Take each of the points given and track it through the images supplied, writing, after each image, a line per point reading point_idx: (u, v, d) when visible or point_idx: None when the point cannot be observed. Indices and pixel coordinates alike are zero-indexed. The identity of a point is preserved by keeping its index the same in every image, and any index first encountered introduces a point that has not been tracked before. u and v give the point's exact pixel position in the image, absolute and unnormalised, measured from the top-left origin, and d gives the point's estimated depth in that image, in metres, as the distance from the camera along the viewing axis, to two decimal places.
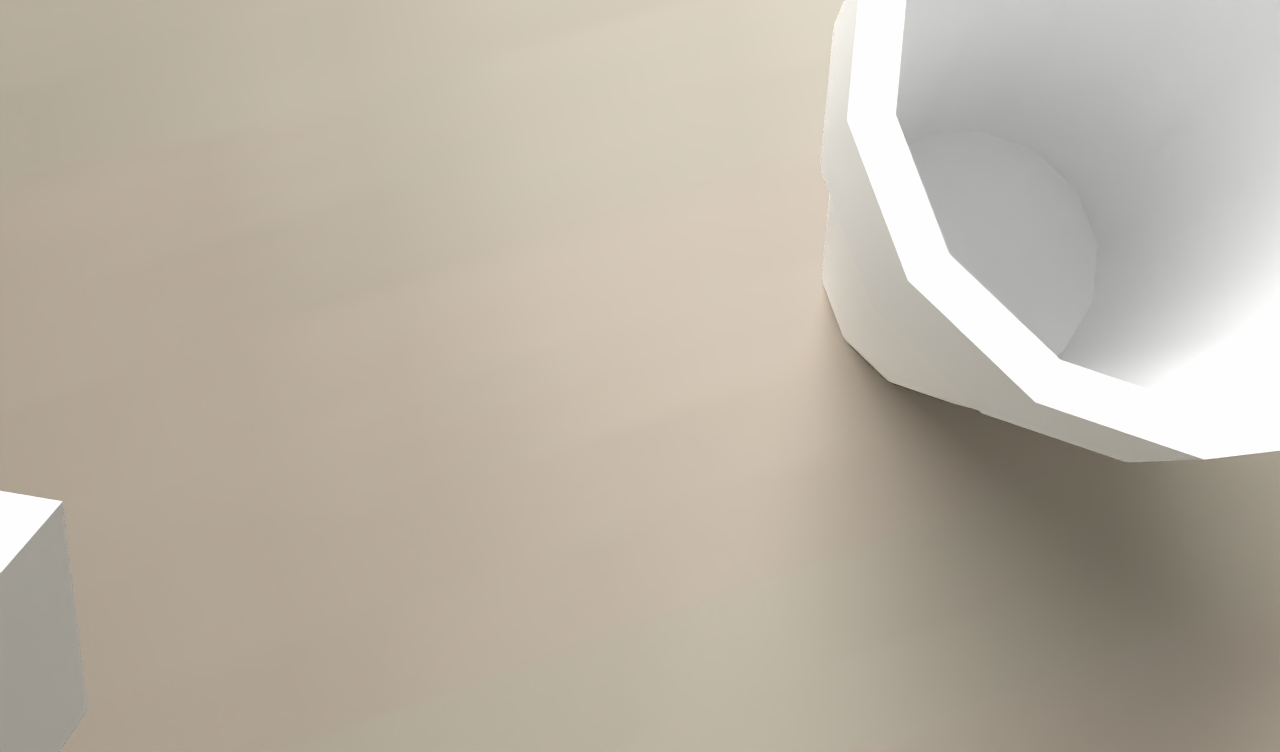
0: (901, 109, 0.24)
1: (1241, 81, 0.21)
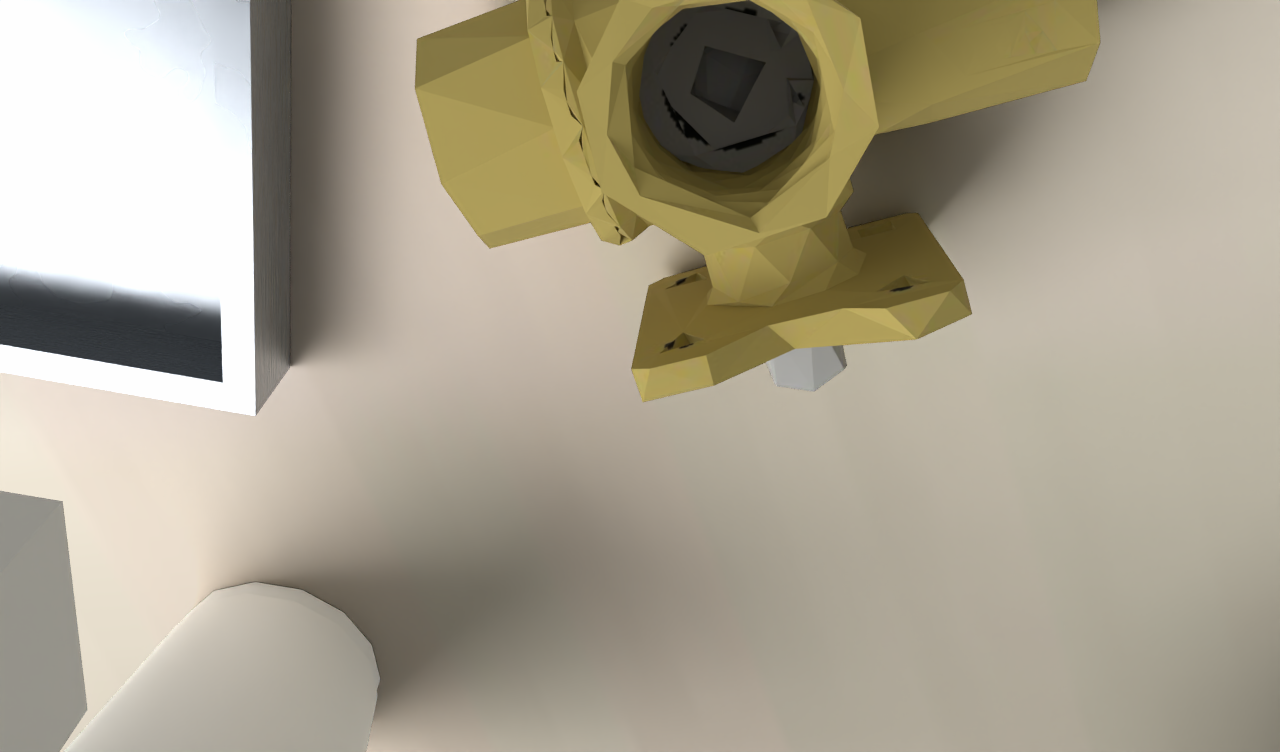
0: None
1: None
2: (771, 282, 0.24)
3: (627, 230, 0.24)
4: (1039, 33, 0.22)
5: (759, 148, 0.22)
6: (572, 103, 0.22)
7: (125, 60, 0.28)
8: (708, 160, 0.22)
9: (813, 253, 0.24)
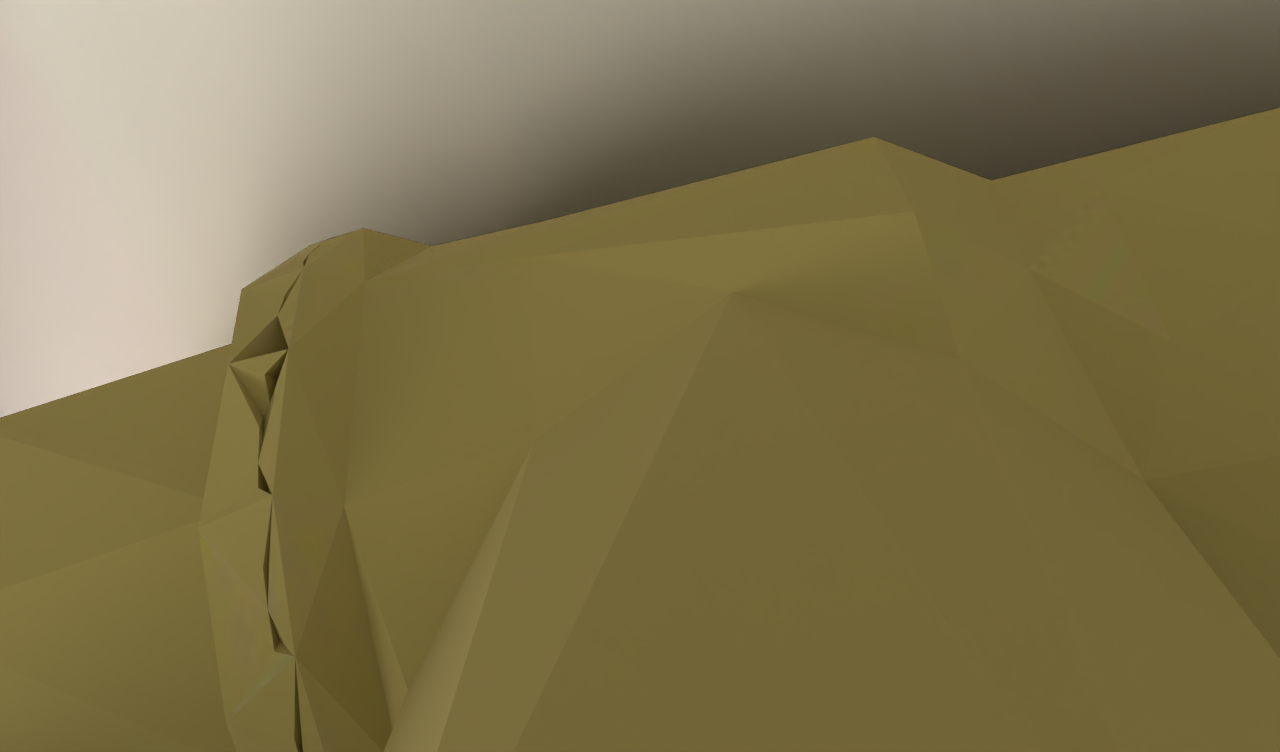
0: None
1: None
2: None
3: None
4: None
5: None
6: None
7: None
8: None
9: None
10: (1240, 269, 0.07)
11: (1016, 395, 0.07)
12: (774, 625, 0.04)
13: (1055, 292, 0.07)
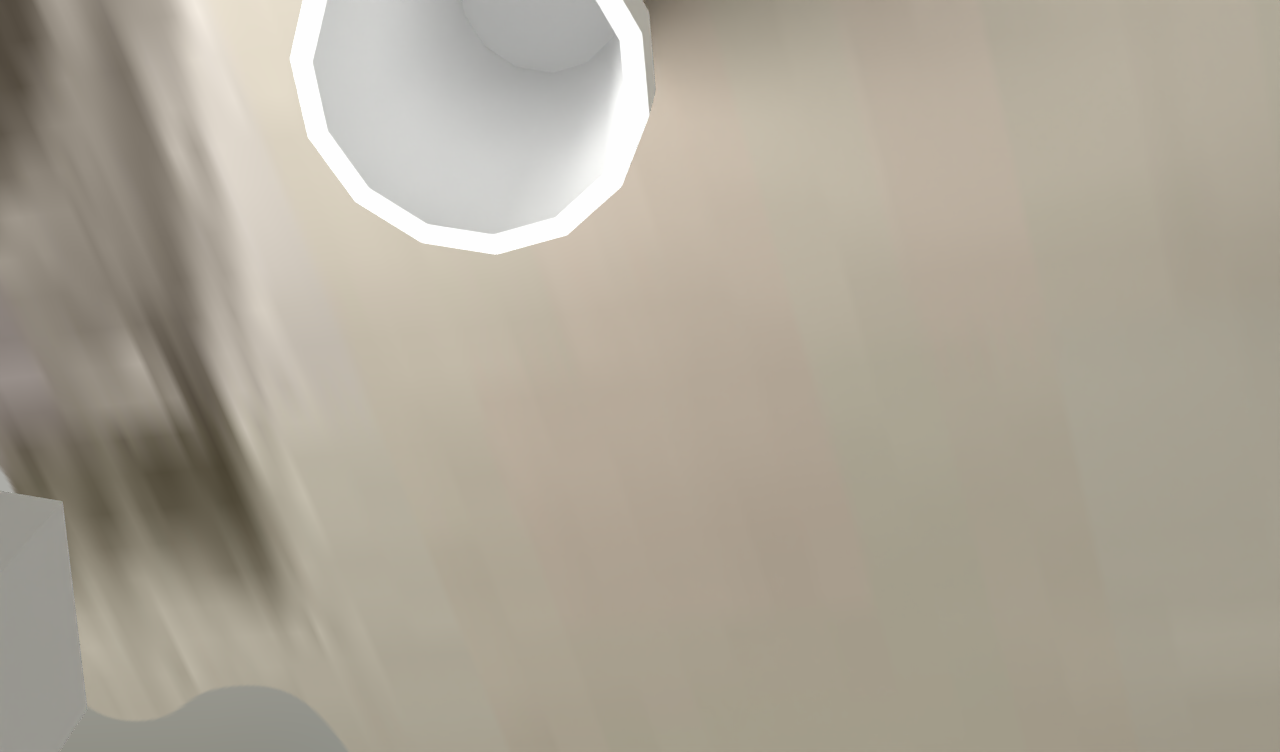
0: (455, 67, 0.40)
1: None
2: None
3: None
4: None
5: None
6: None
7: None
8: None
9: None
10: None
11: None
12: None
13: None
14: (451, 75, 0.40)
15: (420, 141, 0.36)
